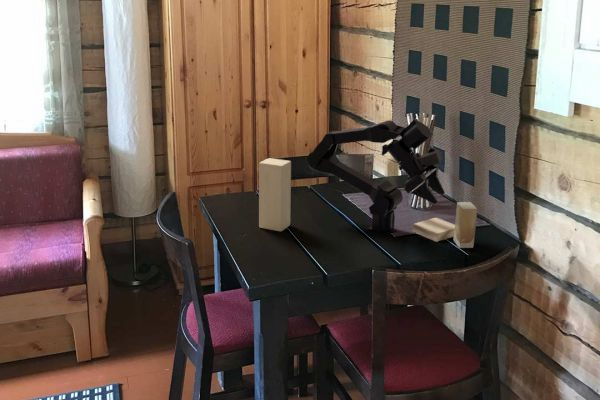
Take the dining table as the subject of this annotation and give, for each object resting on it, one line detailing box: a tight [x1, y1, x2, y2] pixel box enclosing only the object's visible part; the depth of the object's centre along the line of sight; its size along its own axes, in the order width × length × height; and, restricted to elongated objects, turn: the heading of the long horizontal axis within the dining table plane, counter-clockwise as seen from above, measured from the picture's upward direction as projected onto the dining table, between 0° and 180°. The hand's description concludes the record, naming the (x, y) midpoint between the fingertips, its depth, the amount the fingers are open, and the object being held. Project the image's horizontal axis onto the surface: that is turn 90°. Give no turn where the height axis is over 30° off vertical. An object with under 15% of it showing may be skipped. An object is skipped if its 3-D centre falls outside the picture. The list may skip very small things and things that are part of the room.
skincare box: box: [453, 201, 478, 249], centre depth 200 cm, size 6×4×12 cm
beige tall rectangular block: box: [258, 157, 292, 232], centre depth 212 cm, size 8×7×21 cm
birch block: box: [412, 217, 455, 242], centre depth 210 cm, size 10×10×3 cm
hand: (439, 198), depth 201 cm, fingers open, 9 cm apart
